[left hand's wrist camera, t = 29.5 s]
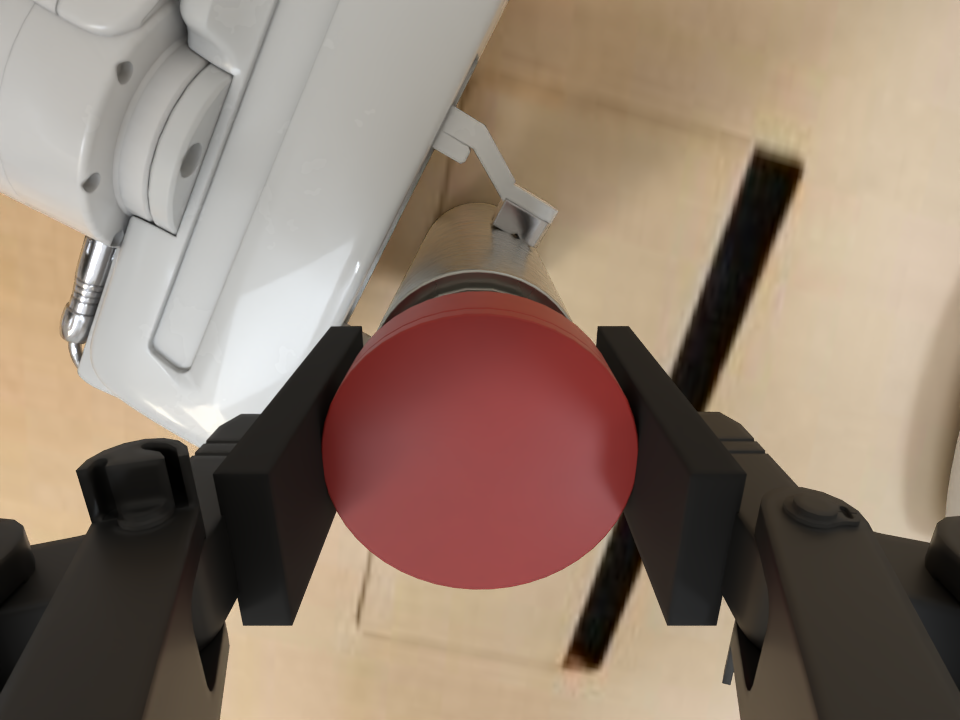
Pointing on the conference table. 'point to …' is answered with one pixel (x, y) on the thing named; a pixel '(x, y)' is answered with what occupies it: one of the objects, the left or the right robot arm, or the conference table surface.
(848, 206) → the conference table surface
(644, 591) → the conference table surface
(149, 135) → the right robot arm
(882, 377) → the conference table surface
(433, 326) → the lid
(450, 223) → the jar
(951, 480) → the projector
